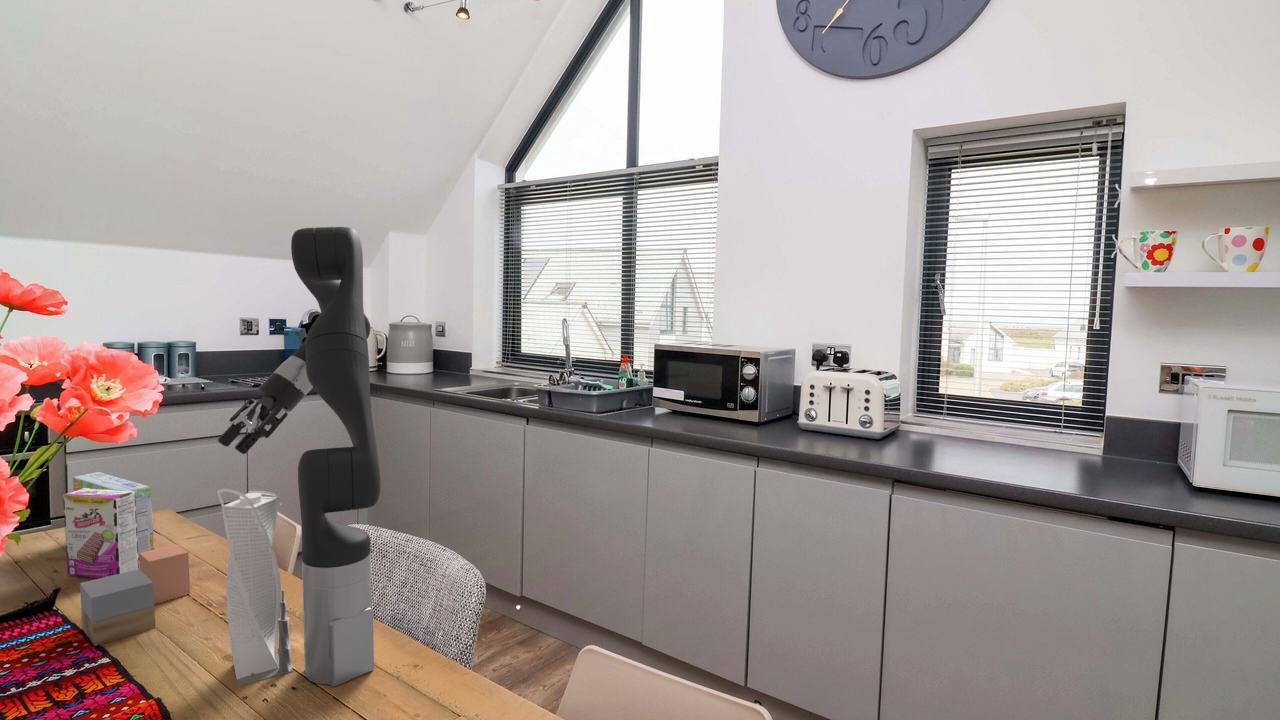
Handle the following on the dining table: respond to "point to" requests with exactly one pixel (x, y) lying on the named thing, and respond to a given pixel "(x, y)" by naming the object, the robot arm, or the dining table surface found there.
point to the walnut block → (118, 625)
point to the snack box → (141, 496)
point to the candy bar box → (100, 532)
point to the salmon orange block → (166, 571)
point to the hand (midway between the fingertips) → (230, 447)
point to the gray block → (116, 595)
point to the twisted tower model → (255, 589)
